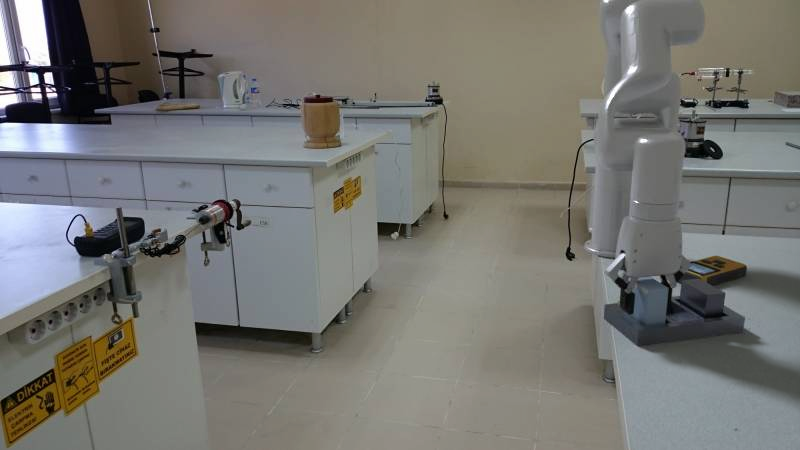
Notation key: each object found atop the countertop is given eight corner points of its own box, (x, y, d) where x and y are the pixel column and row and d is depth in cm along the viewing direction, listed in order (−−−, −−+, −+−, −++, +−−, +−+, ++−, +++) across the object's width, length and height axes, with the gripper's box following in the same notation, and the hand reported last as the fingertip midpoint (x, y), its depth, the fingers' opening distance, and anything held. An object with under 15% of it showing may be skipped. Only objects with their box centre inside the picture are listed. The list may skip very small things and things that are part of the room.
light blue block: (623, 316, 111) (627, 275, 108) (641, 314, 111) (645, 273, 109) (645, 333, 104) (649, 290, 102) (664, 331, 105) (668, 288, 102)
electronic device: (748, 278, 130) (750, 264, 129) (698, 293, 123) (700, 277, 122) (713, 266, 137) (715, 252, 136) (664, 279, 130) (665, 264, 129)
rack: (603, 318, 112) (606, 284, 110) (701, 306, 116) (704, 273, 114) (637, 346, 102) (640, 308, 100) (743, 332, 105) (748, 295, 103)
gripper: (685, 200, 107) (676, 295, 112) (594, 208, 104) (588, 306, 109) (715, 211, 100) (703, 312, 105) (617, 220, 97) (610, 324, 102)
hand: (644, 308), depth 107 cm, fingers open, 6 cm apart
